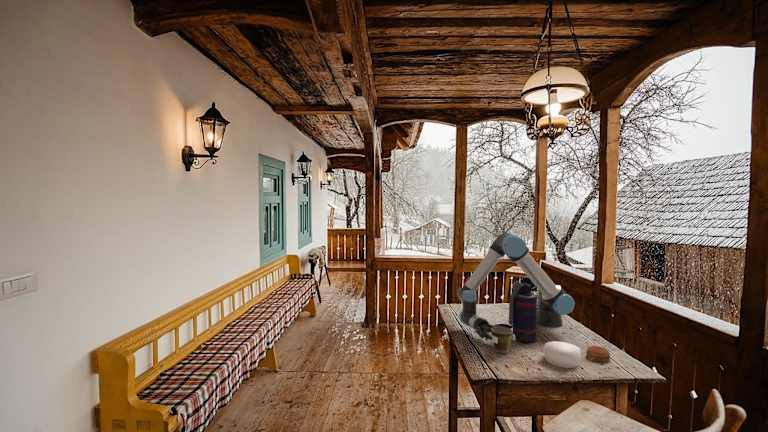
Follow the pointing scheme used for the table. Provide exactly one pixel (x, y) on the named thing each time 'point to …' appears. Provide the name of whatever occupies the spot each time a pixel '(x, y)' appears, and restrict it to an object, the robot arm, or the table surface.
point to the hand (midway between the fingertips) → (505, 339)
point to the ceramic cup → (502, 338)
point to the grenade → (523, 312)
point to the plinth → (562, 354)
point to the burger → (598, 354)
